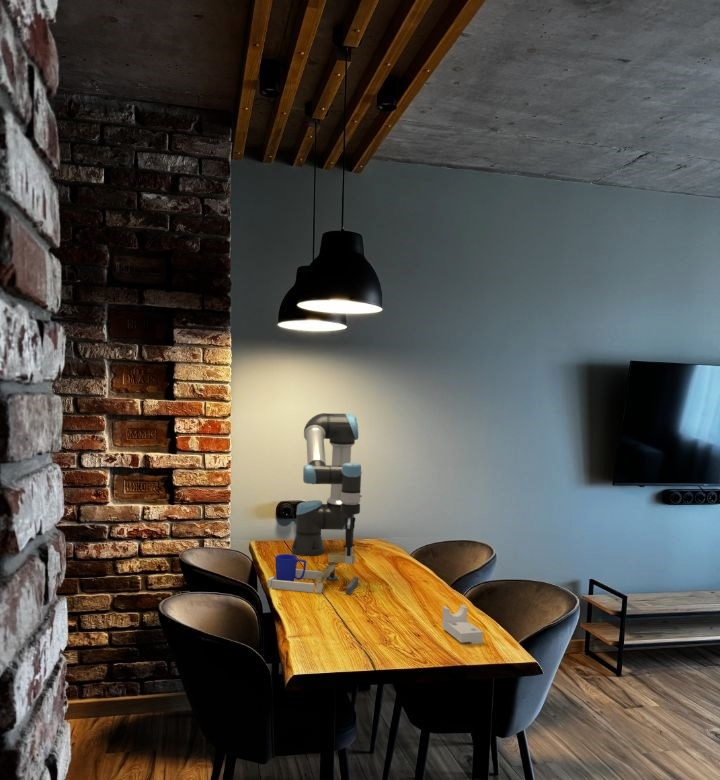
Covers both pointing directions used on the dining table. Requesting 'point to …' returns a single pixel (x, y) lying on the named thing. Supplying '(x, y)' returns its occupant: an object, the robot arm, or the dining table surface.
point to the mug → (287, 567)
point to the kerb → (352, 585)
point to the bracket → (461, 626)
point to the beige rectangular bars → (297, 585)
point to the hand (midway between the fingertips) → (348, 563)
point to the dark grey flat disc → (332, 578)
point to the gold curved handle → (333, 565)
